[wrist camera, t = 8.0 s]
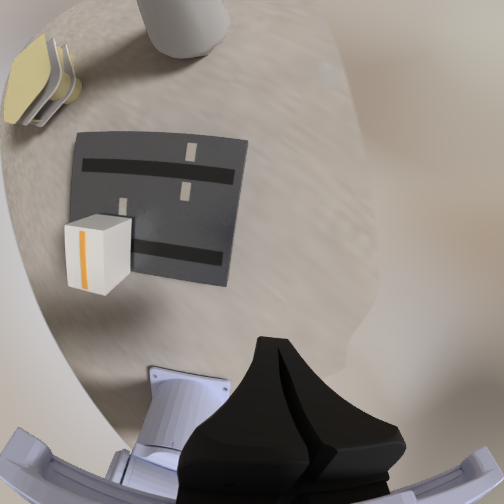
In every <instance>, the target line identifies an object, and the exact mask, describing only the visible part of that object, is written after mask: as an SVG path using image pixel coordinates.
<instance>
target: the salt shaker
mask: <svg viewBox="0 0 504 504" xmlns="http://www.w3.org/2000/svg"><path fill="white" fill-rule="evenodd" d="M137 3H138V6H139V9H140V12H141V15H142V18H143V21H144V24H145V27H146V30H147V33H148V36H149V39H150V40H151V42H152V43H153V45H154V46H155V48H156V49H157V50H158V51H159V52H161V53H164V54H166V55H168V56H170V57H172V58H179V59H187V58H194V57H200V56H207V55H208V54H209V53H210V52H211V51H212V49H213V48H214V47H215V46H217V45H218V44H219V43H221V42H222V41H223V39H224V37H225V35H226V34H227V32H228V30H229V28H230V18H229V11H228V10H227V8H226V6H225V5H224V3H223V1H222V0H137Z"/></svg>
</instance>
